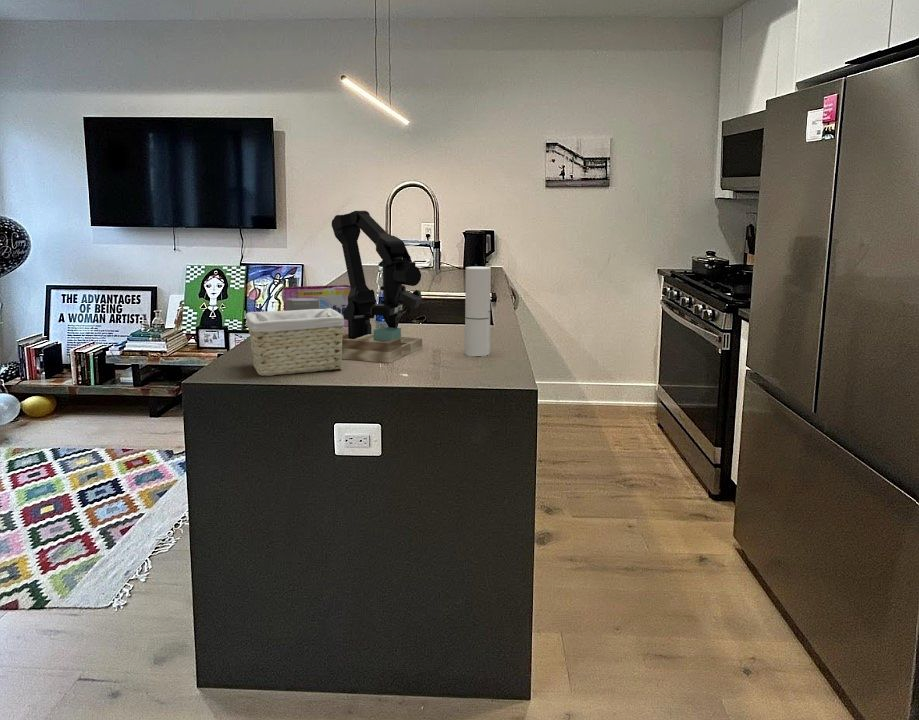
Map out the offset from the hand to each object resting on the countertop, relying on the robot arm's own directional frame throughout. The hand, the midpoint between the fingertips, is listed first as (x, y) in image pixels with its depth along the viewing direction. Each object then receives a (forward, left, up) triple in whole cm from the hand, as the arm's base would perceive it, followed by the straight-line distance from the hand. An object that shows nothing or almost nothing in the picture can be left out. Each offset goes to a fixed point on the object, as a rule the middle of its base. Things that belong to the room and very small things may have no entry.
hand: (393, 334), depth 246 cm
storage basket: (-11, -36, -4) cm, 38 cm away
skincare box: (-20, -18, -4) cm, 27 cm away
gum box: (-40, +22, -4) cm, 46 cm away
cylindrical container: (+27, 0, -4) cm, 27 cm away
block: (0, -4, -1) cm, 4 cm away
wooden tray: (0, -10, -4) cm, 11 cm away
